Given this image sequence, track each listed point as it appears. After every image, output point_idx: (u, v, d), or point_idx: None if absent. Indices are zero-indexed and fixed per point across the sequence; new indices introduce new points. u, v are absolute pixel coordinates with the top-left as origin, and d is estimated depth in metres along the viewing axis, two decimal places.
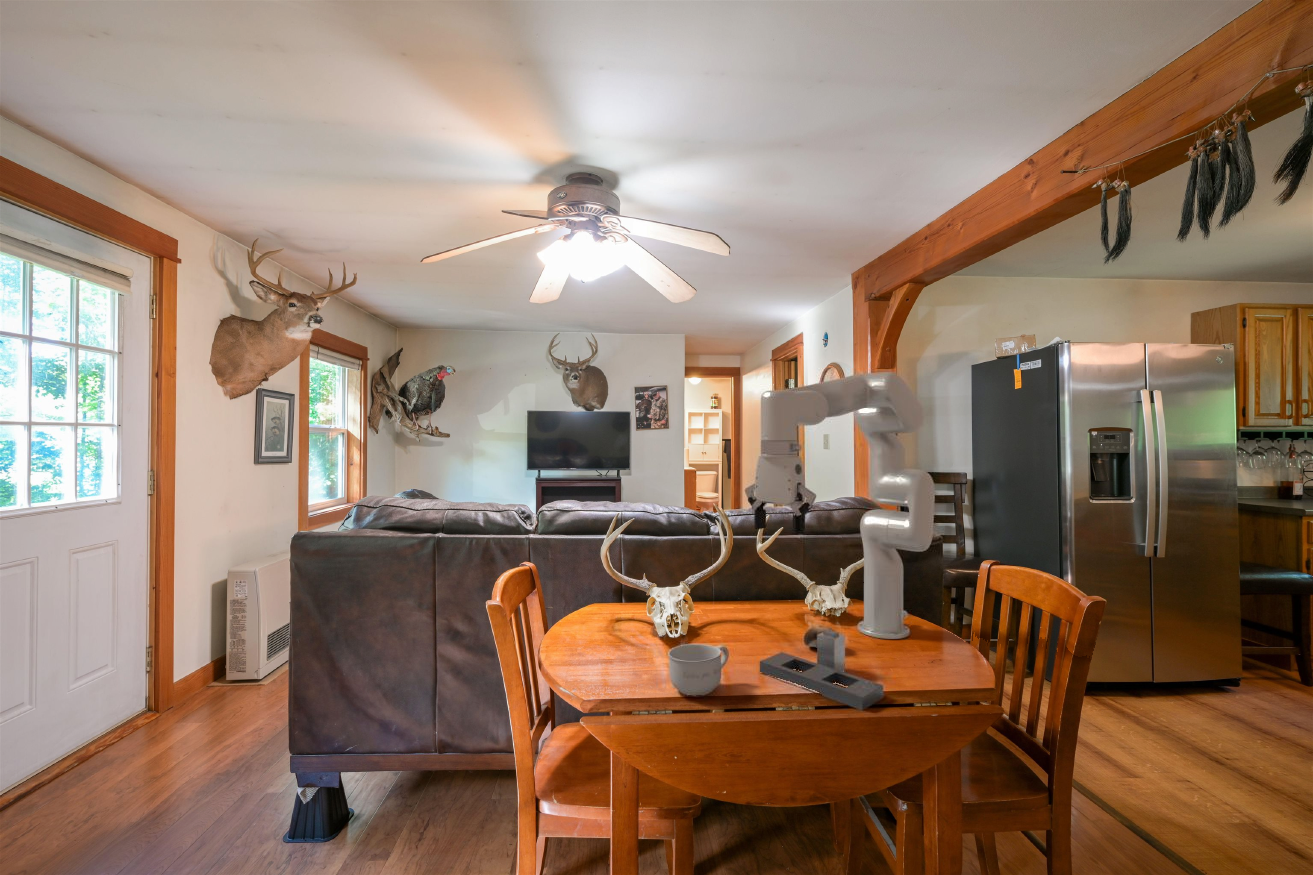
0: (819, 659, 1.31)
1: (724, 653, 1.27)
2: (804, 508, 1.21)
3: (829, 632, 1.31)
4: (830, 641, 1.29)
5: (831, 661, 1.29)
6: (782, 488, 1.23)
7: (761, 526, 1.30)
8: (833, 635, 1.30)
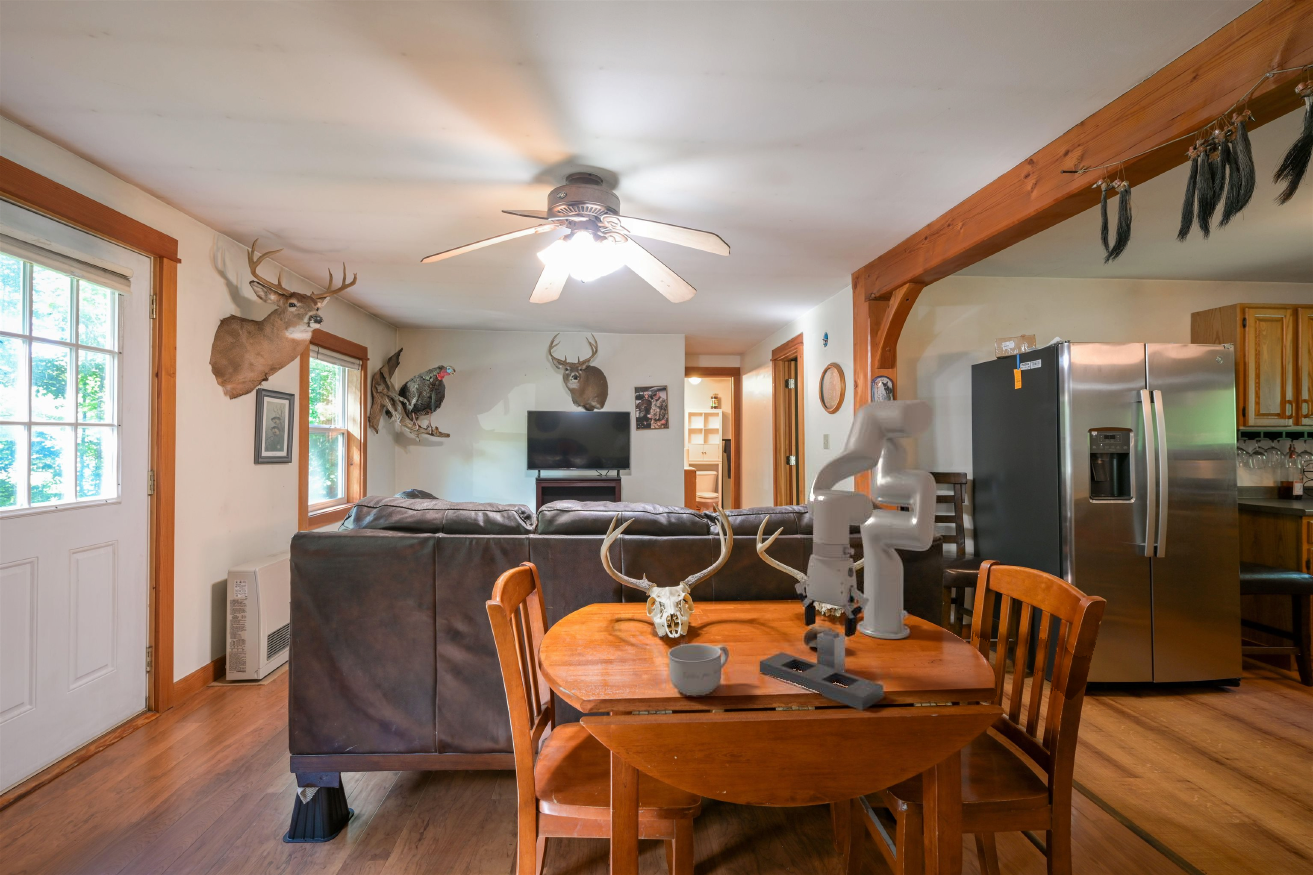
0: (819, 659, 1.31)
1: (724, 653, 1.27)
2: (857, 611, 1.25)
3: (829, 632, 1.31)
4: (830, 641, 1.29)
5: (831, 661, 1.29)
6: (835, 590, 1.28)
7: (811, 622, 1.34)
8: (833, 635, 1.30)
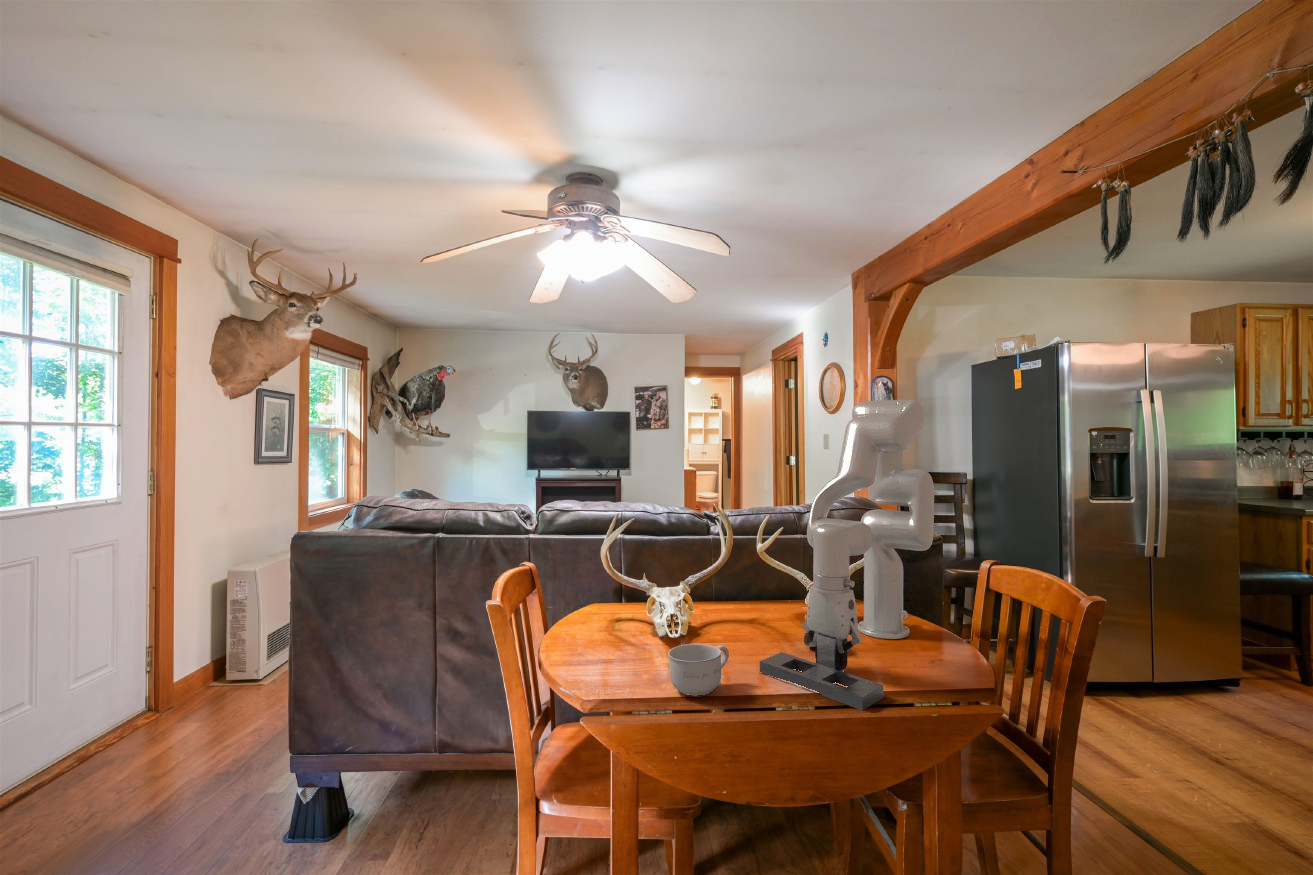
0: (819, 659, 1.31)
1: (724, 653, 1.27)
2: (847, 647, 1.28)
3: None
4: (830, 641, 1.29)
5: (831, 661, 1.29)
6: (835, 622, 1.28)
7: None
8: None
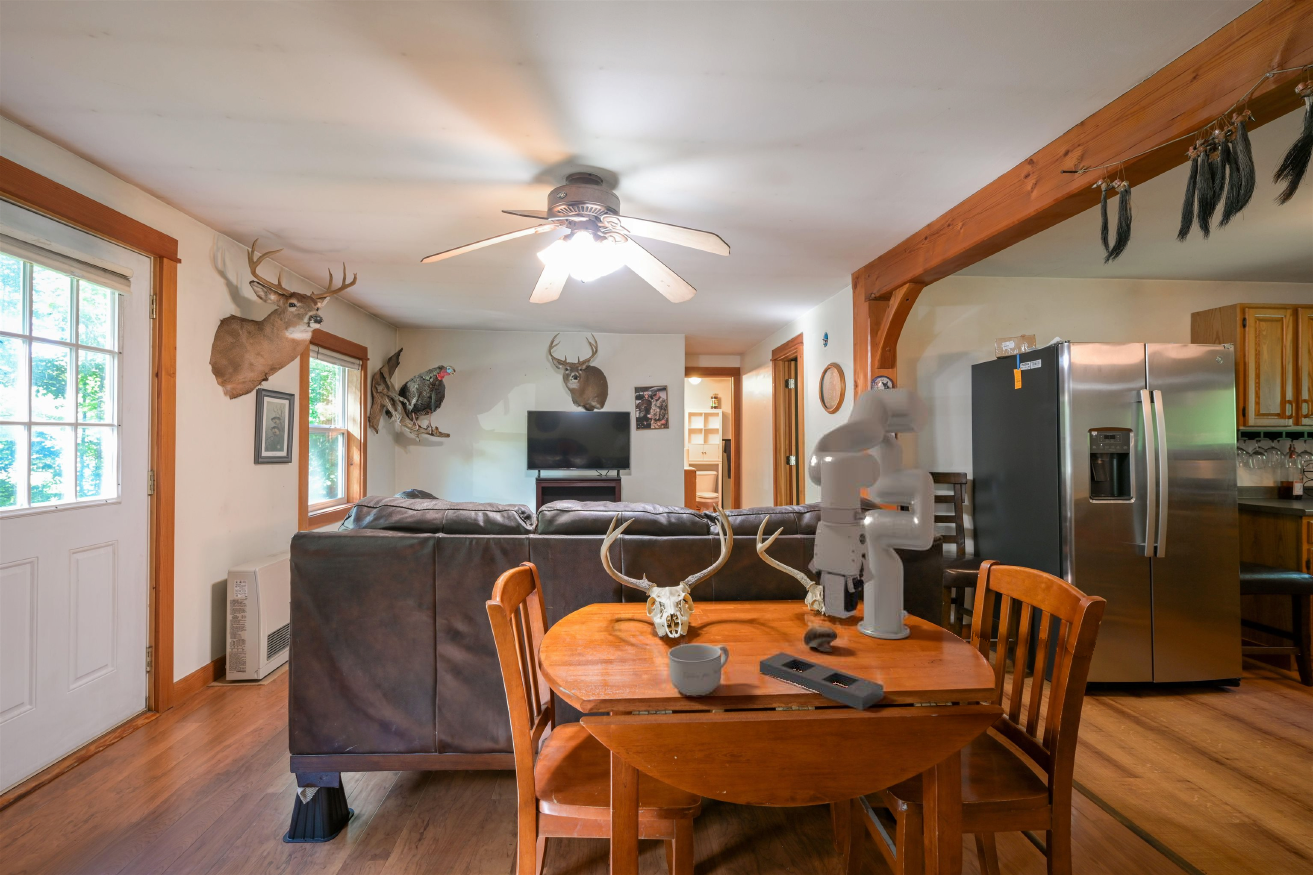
0: (827, 600, 1.21)
1: (724, 653, 1.27)
2: (858, 585, 1.17)
3: None
4: (839, 579, 1.19)
5: (840, 601, 1.18)
6: (845, 559, 1.17)
7: None
8: None
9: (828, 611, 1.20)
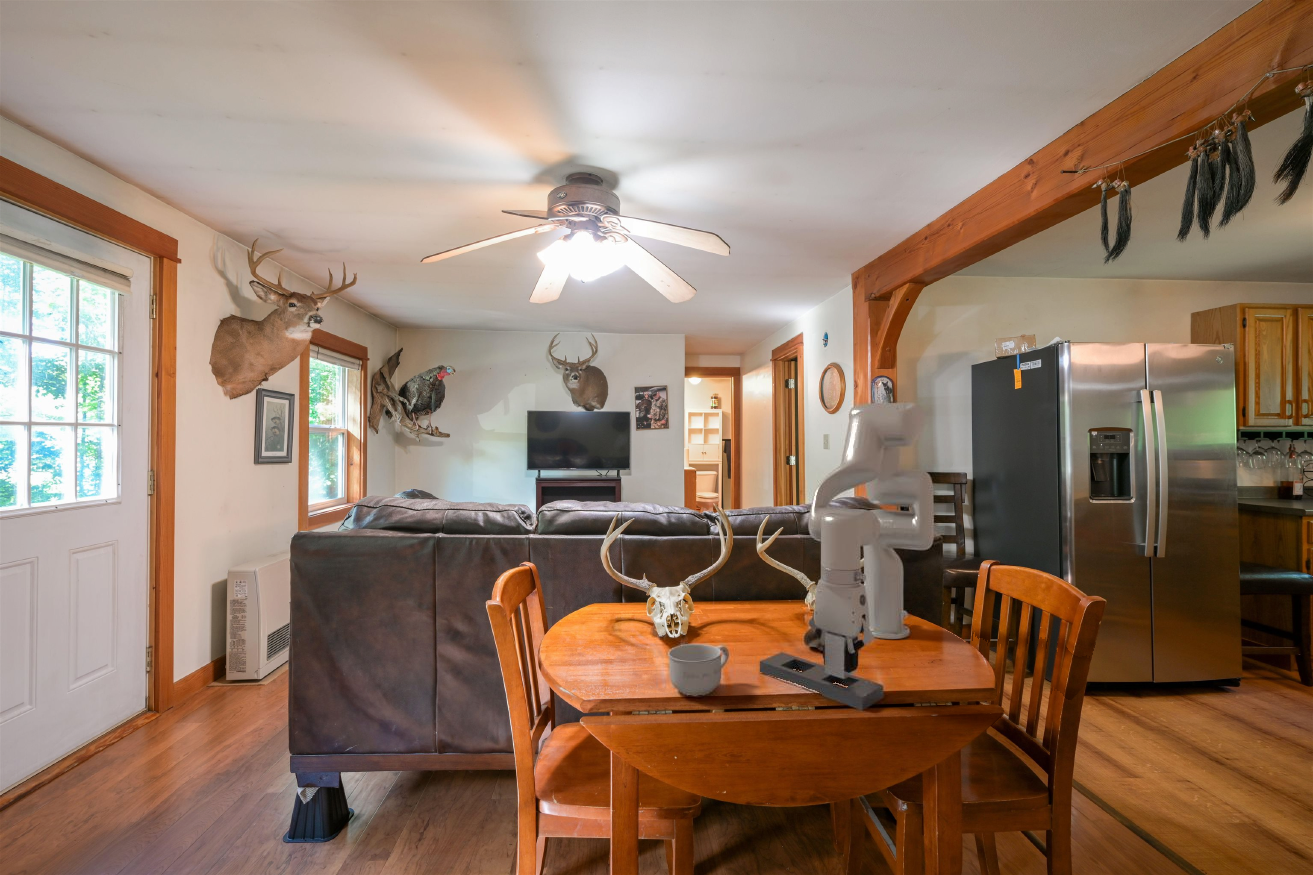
0: (827, 659, 1.21)
1: (724, 653, 1.27)
2: (858, 646, 1.17)
3: None
4: (839, 640, 1.19)
5: (841, 661, 1.18)
6: (845, 620, 1.17)
7: None
8: None
9: (828, 671, 1.20)
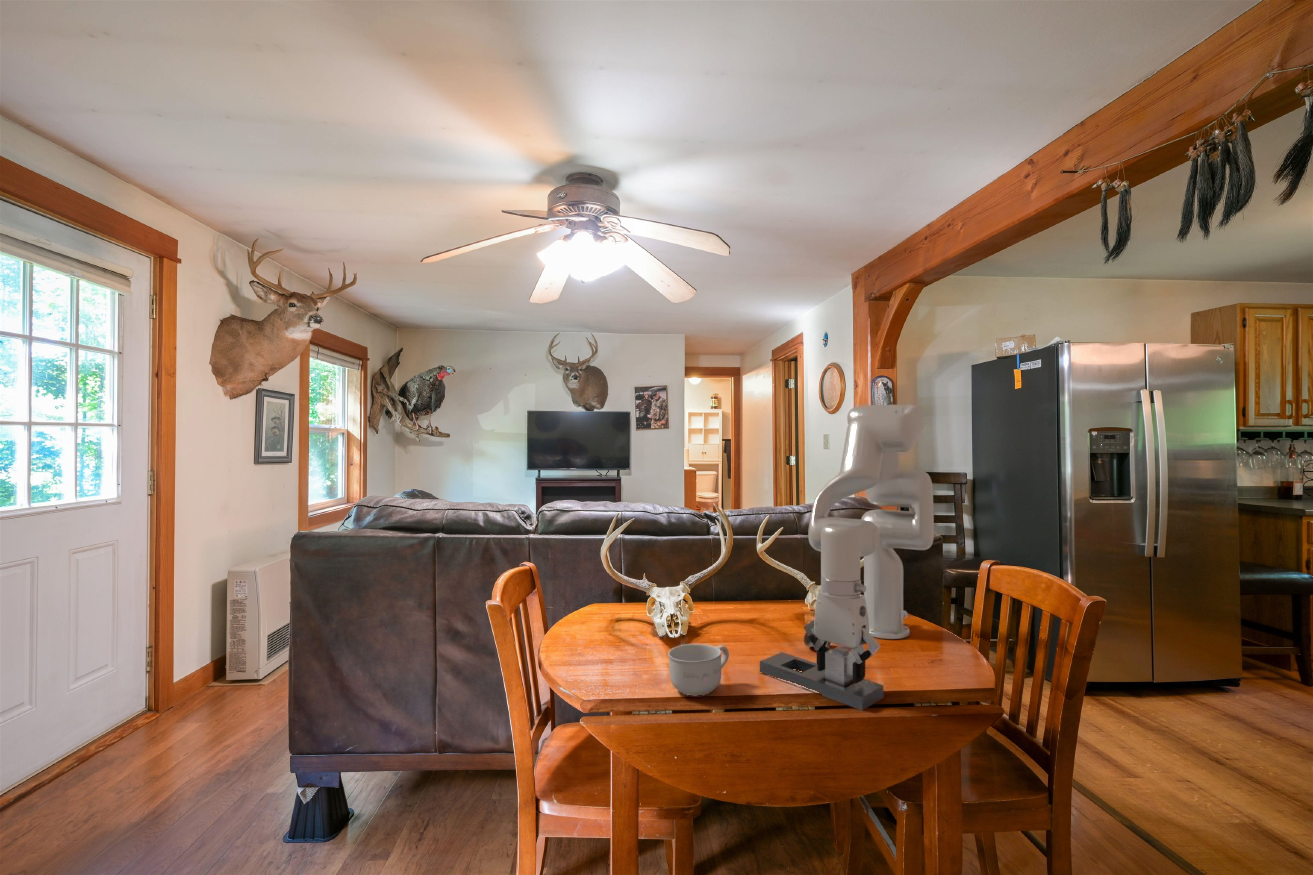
0: (827, 679, 1.21)
1: (724, 653, 1.27)
2: (865, 656, 1.16)
3: (838, 649, 1.21)
4: (839, 659, 1.19)
5: (841, 681, 1.19)
6: (845, 631, 1.17)
7: (824, 667, 1.24)
8: (842, 653, 1.20)
9: None
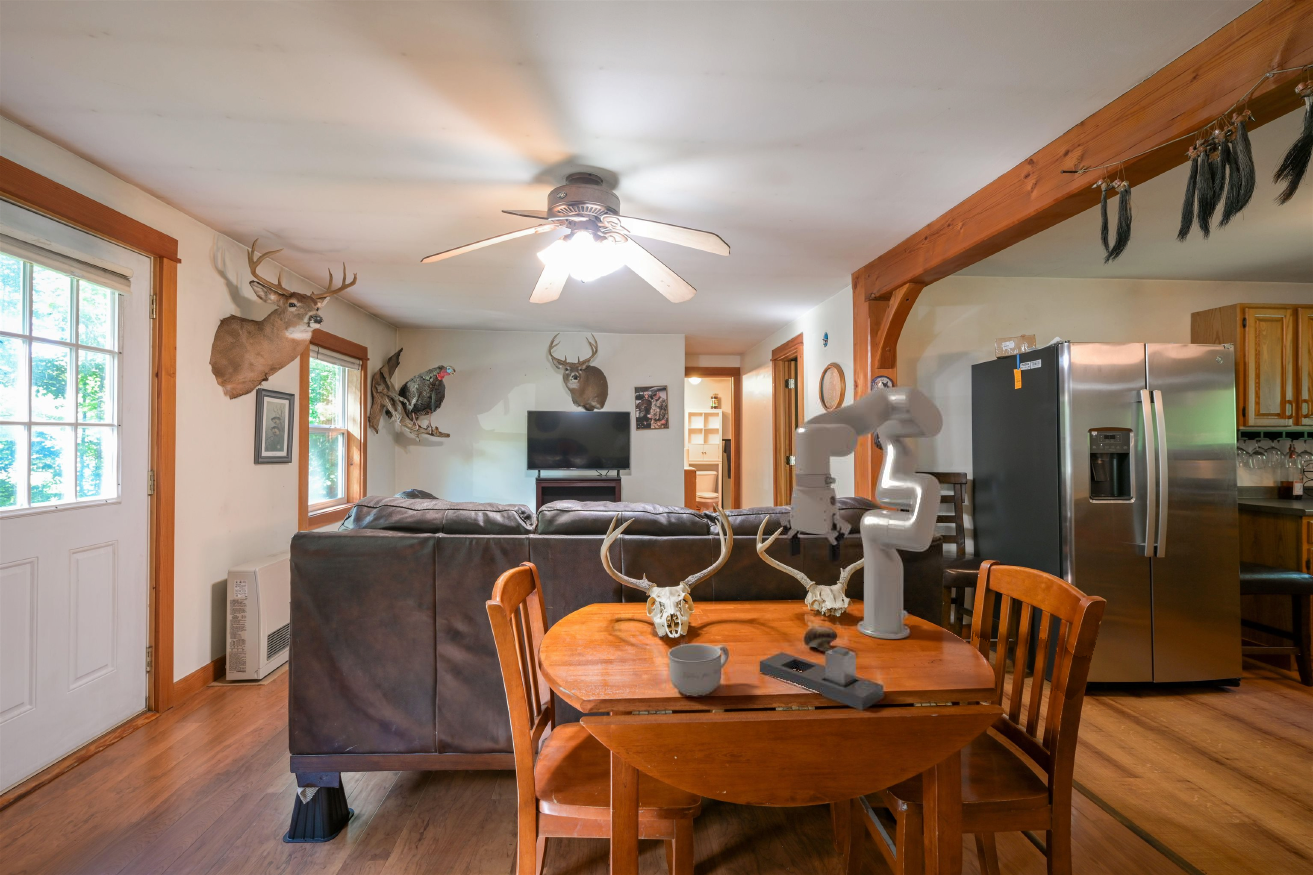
0: (827, 679, 1.21)
1: (724, 653, 1.27)
2: (840, 538, 1.29)
3: (838, 649, 1.21)
4: (840, 659, 1.19)
5: (841, 681, 1.19)
6: (818, 519, 1.31)
7: (796, 553, 1.38)
8: (843, 653, 1.20)
9: None
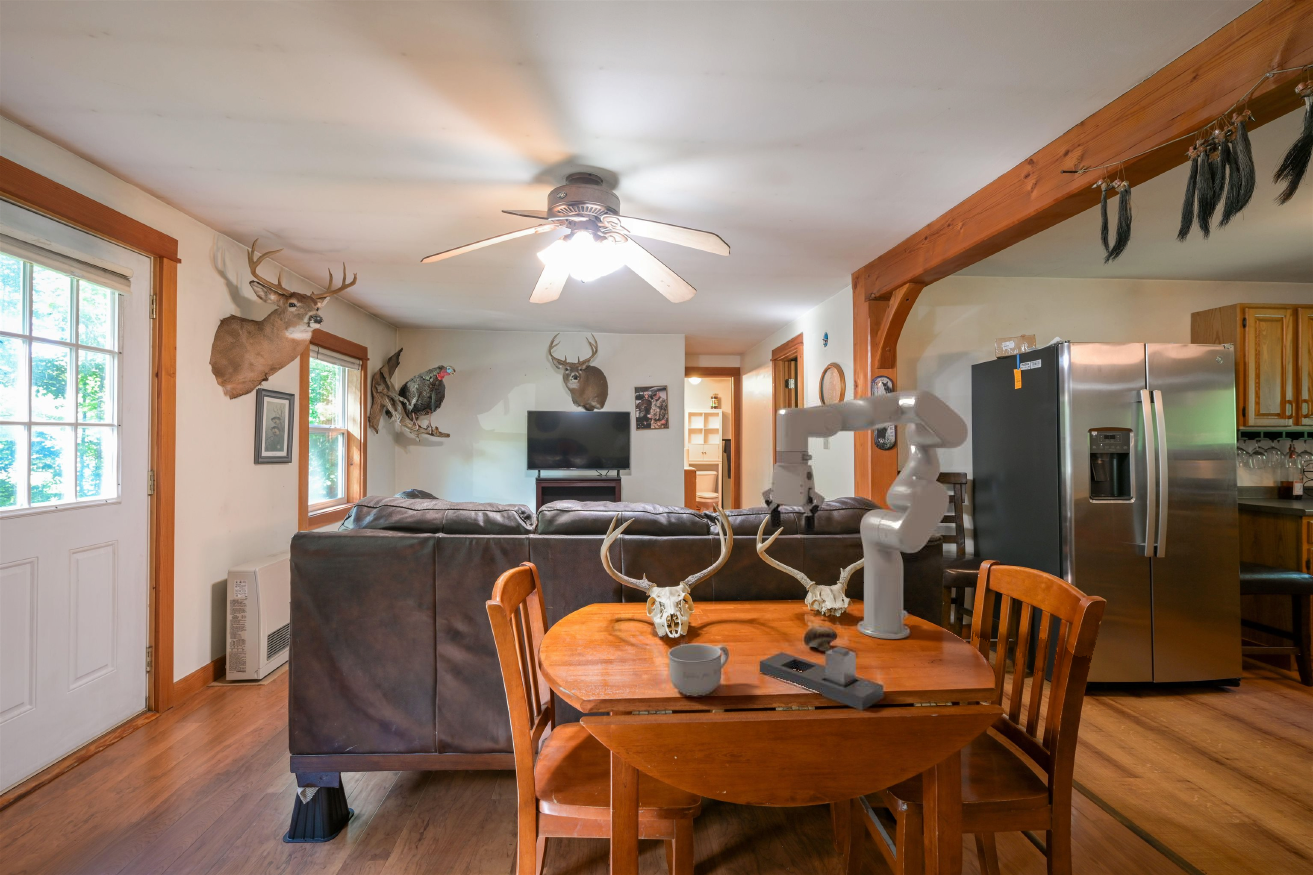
0: (827, 679, 1.21)
1: (724, 653, 1.27)
2: (814, 509, 1.41)
3: (838, 649, 1.21)
4: (840, 659, 1.19)
5: (841, 681, 1.19)
6: (795, 492, 1.44)
7: (776, 525, 1.50)
8: (843, 653, 1.20)
9: None
